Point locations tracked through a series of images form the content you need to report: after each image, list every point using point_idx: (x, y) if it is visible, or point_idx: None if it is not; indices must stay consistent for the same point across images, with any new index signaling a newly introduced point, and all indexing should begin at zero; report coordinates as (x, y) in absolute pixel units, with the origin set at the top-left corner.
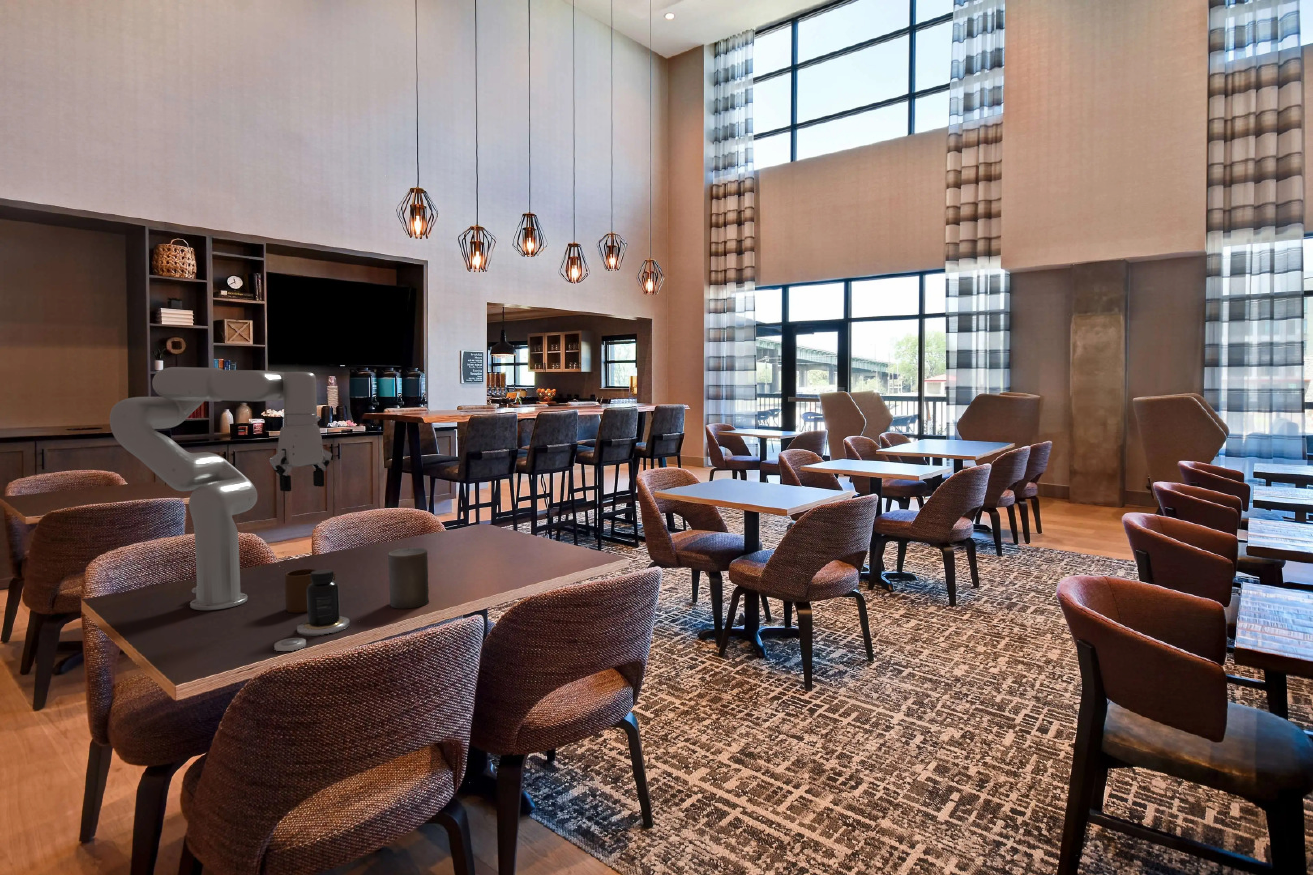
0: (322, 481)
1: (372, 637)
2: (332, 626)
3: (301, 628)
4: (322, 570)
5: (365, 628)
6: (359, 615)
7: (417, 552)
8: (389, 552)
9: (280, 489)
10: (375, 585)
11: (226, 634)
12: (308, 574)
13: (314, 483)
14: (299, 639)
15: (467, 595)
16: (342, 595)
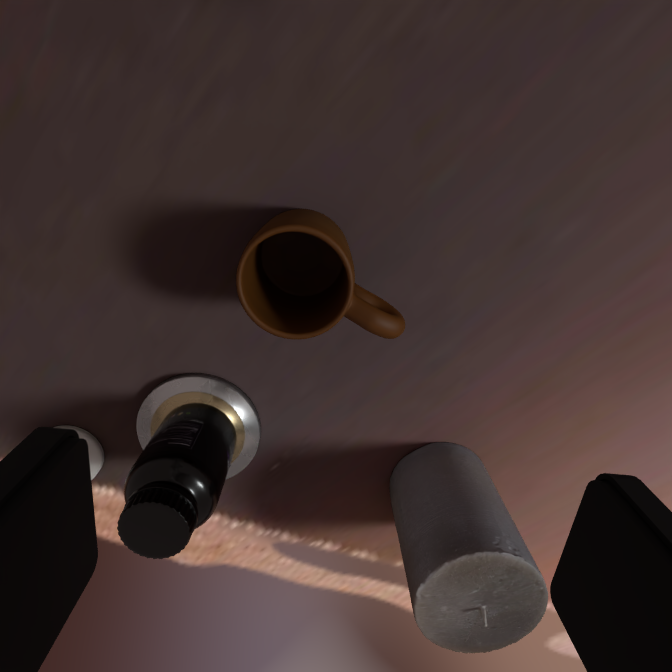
0: (586, 660)
1: (200, 552)
2: None
3: (146, 411)
4: (166, 521)
5: (239, 508)
6: (311, 438)
7: (470, 640)
8: (459, 559)
9: (37, 432)
10: (590, 283)
11: (42, 237)
12: (280, 333)
13: (603, 513)
14: (90, 462)
15: (534, 559)
16: (461, 264)
